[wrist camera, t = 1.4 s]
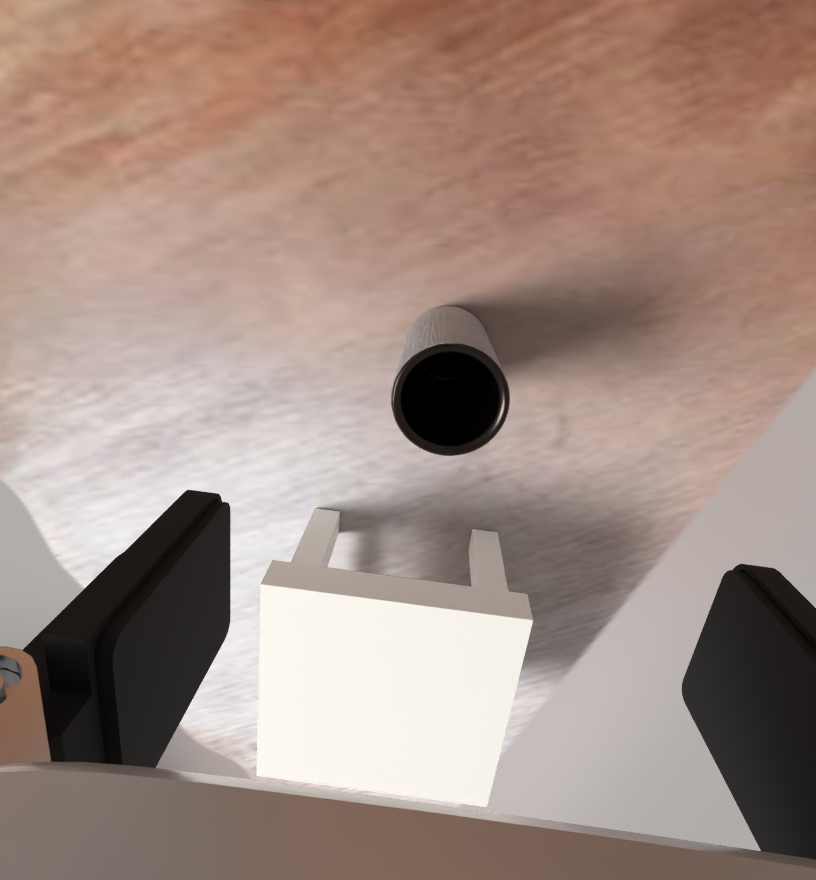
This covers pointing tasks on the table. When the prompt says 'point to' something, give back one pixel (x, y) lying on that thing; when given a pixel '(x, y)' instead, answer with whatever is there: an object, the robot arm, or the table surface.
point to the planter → (449, 384)
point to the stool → (387, 672)
